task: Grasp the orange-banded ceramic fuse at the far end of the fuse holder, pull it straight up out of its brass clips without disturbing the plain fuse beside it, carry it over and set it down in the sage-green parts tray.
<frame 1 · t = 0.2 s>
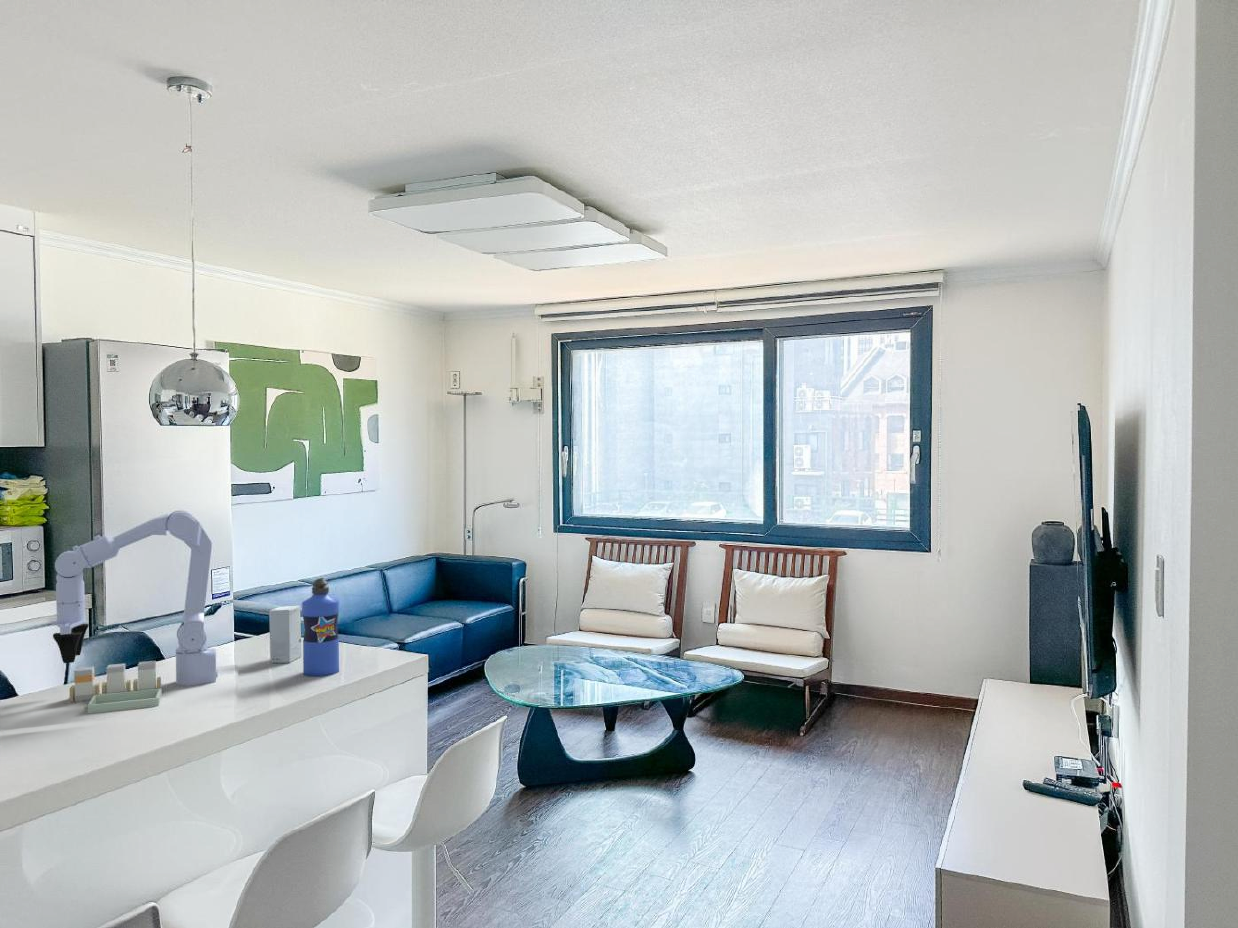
hand: (72, 658, 208), 10 cm above the table, fingers open, 7 cm apart
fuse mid: (116, 694, 209), point 1 cm above the table, touching fuse holder
fuse holder: (116, 699, 209), on the table
fuse near base: (147, 691, 211), point 1 cm above the table, touching fuse holder
tray: (126, 708, 201), on the table
blue bottle: (321, 672, 233), on the table
skincare box: (285, 660, 247), on the table
marked fuse: (84, 698, 206), point 1 cm above the table, touching fuse holder
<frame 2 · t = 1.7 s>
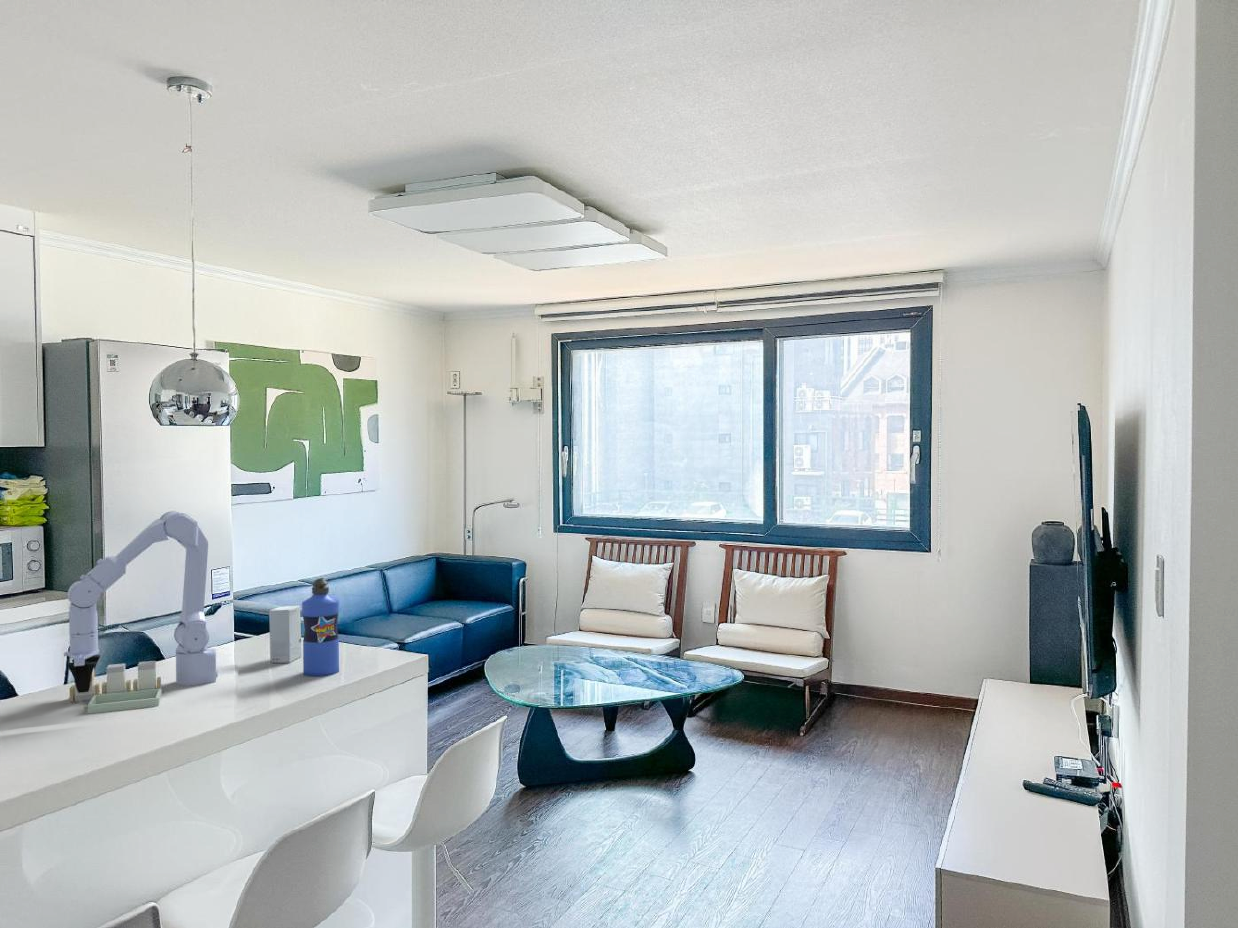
hand: (84, 689, 206), 3 cm above the table, fingers closed on marked fuse, 3 cm apart
marked fuse: (84, 698, 206), point 1 cm above the table, touching fuse holder, gripper
everything else where it was.
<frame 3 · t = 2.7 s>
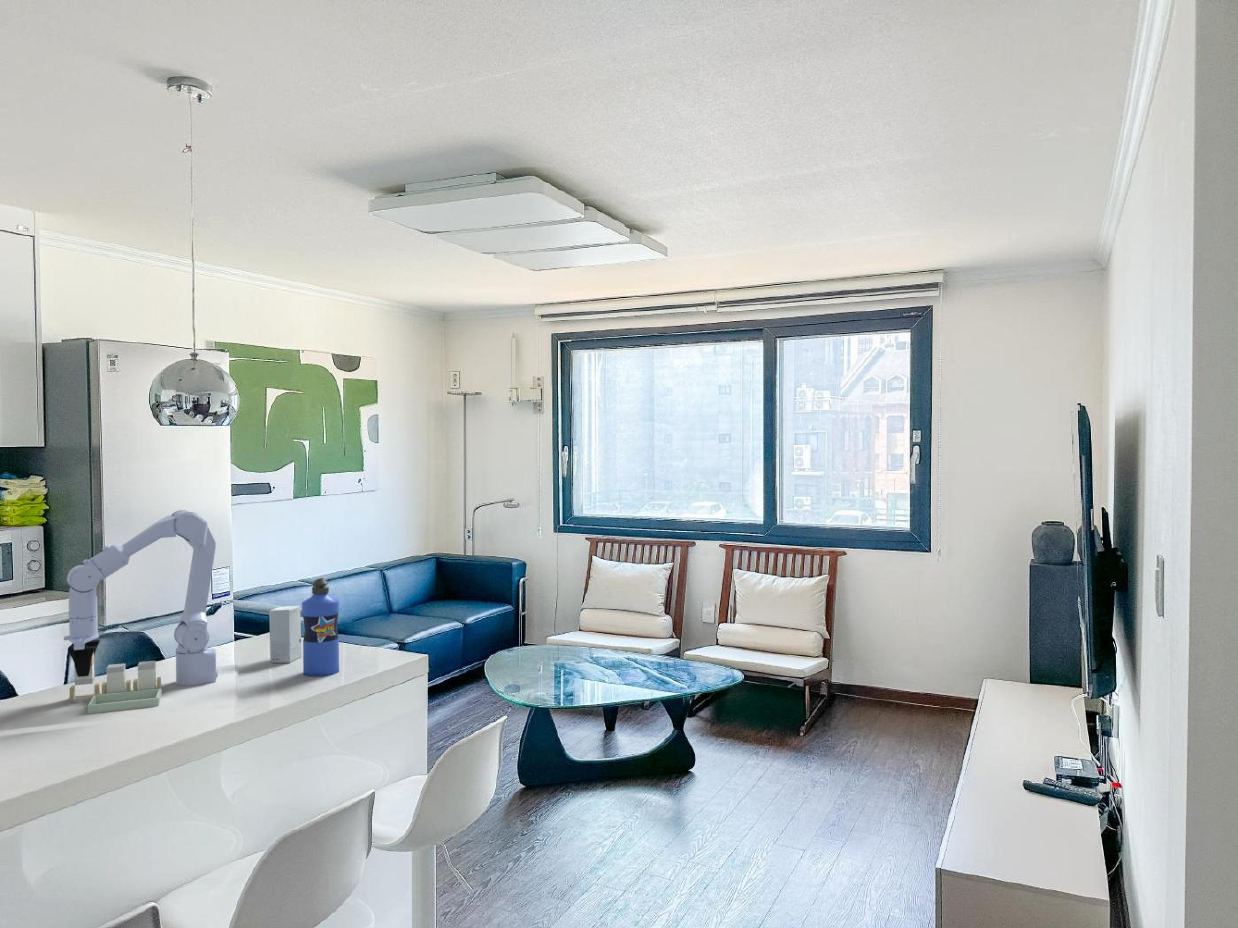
hand: (84, 673, 206), 7 cm above the table, fingers closed on marked fuse, 3 cm apart
marked fuse: (84, 682, 206), point 5 cm above the table, touching gripper
everything else where it was.
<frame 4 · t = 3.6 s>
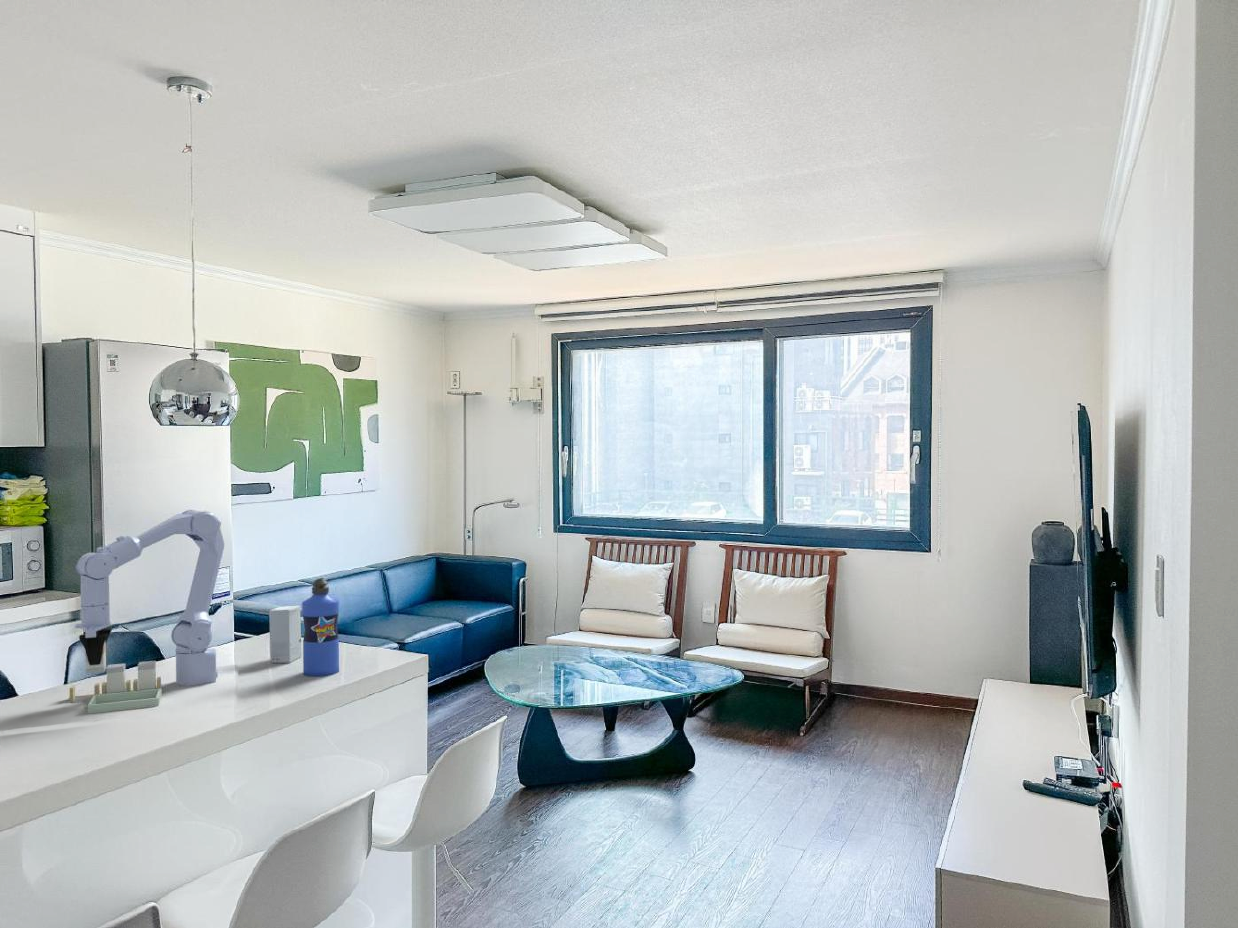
hand: (96, 662, 204), 10 cm above the table, fingers closed on marked fuse, 3 cm apart
marked fuse: (96, 671, 204), point 8 cm above the table, touching gripper
everything else where it was.
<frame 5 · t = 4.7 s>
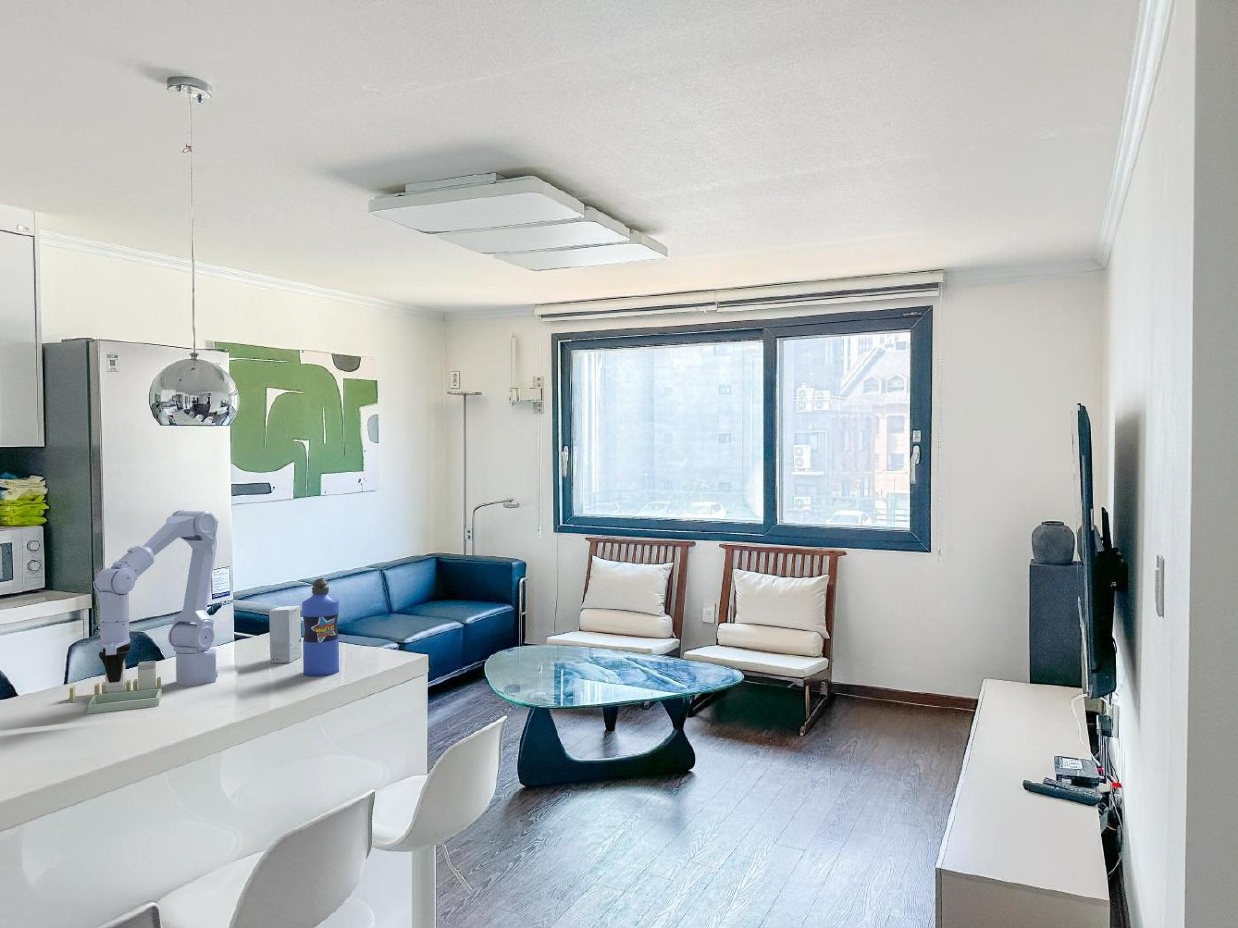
hand: (115, 679, 200), 7 cm above the table, fingers closed on marked fuse, 3 cm apart
marked fuse: (115, 688, 200), point 5 cm above the table, touching gripper
everything else where it was.
when the fingers open (3 cm above the table, at t = 5.6 s): marked fuse stays where it is, resting on tray.
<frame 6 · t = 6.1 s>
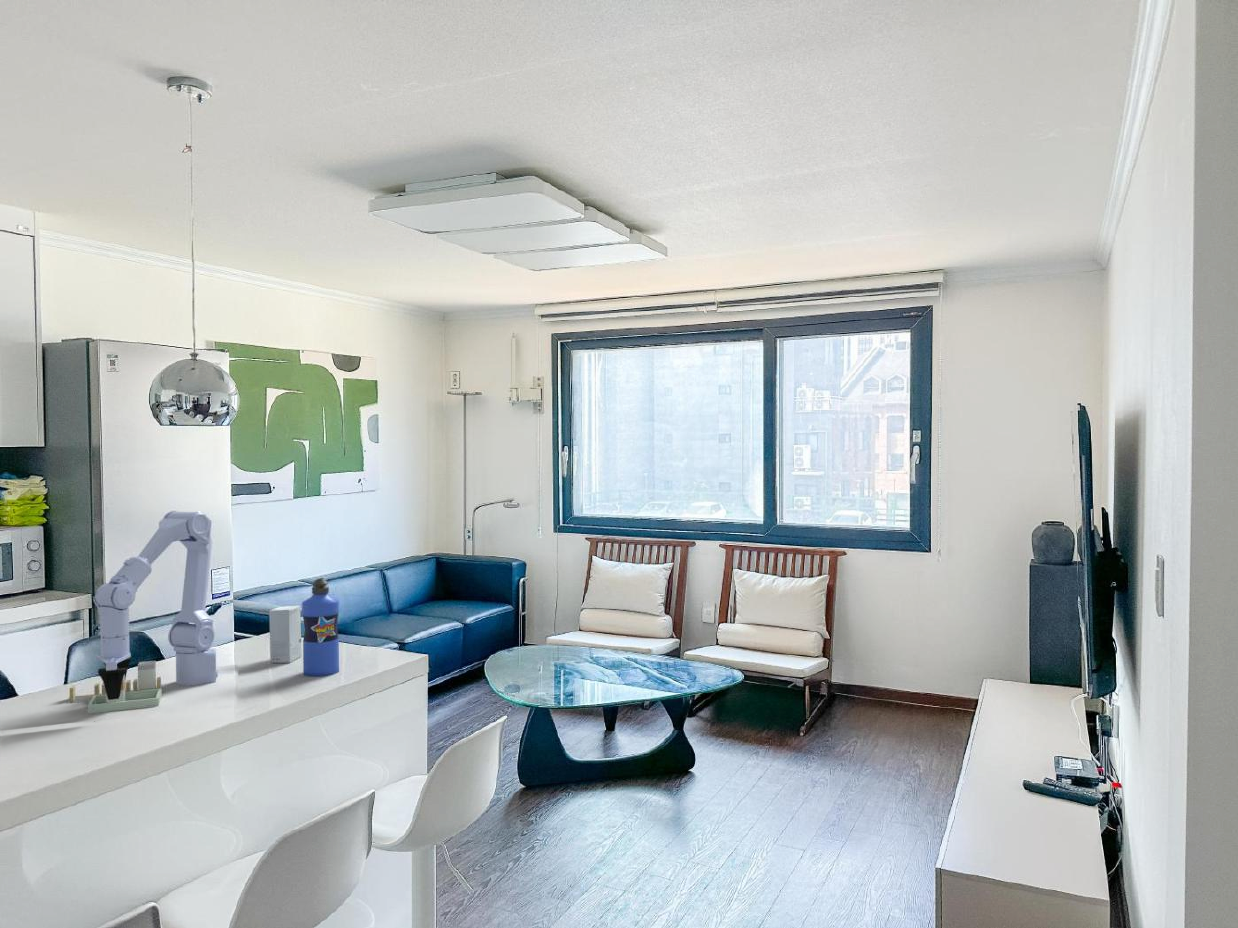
hand: (115, 694, 201), 3 cm above the table, fingers open, 7 cm apart
marked fuse: (115, 707, 201), resting on tray
everything else where it was.
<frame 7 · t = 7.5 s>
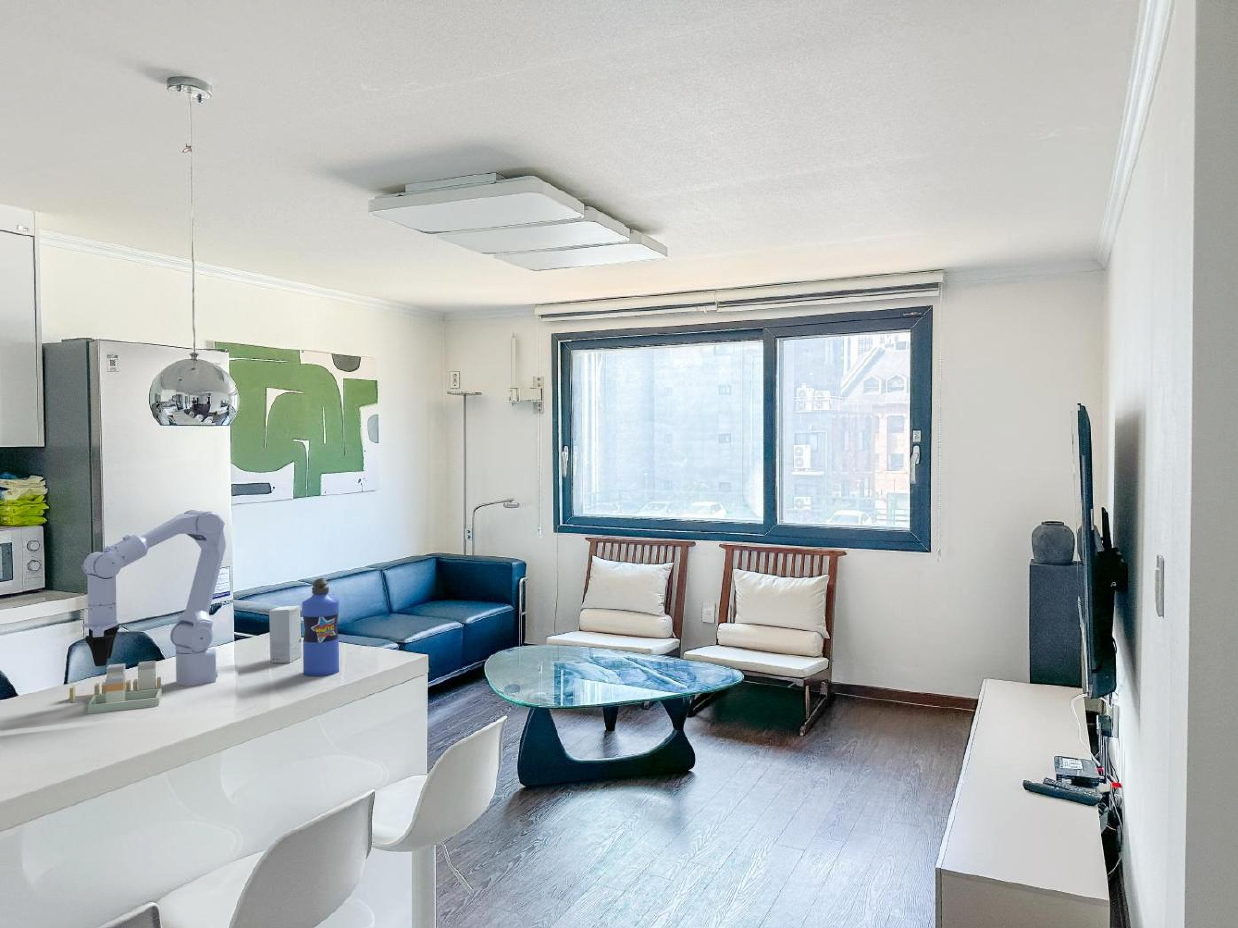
hand: (103, 662, 203), 10 cm above the table, fingers open, 7 cm apart
nothing on the table moved.
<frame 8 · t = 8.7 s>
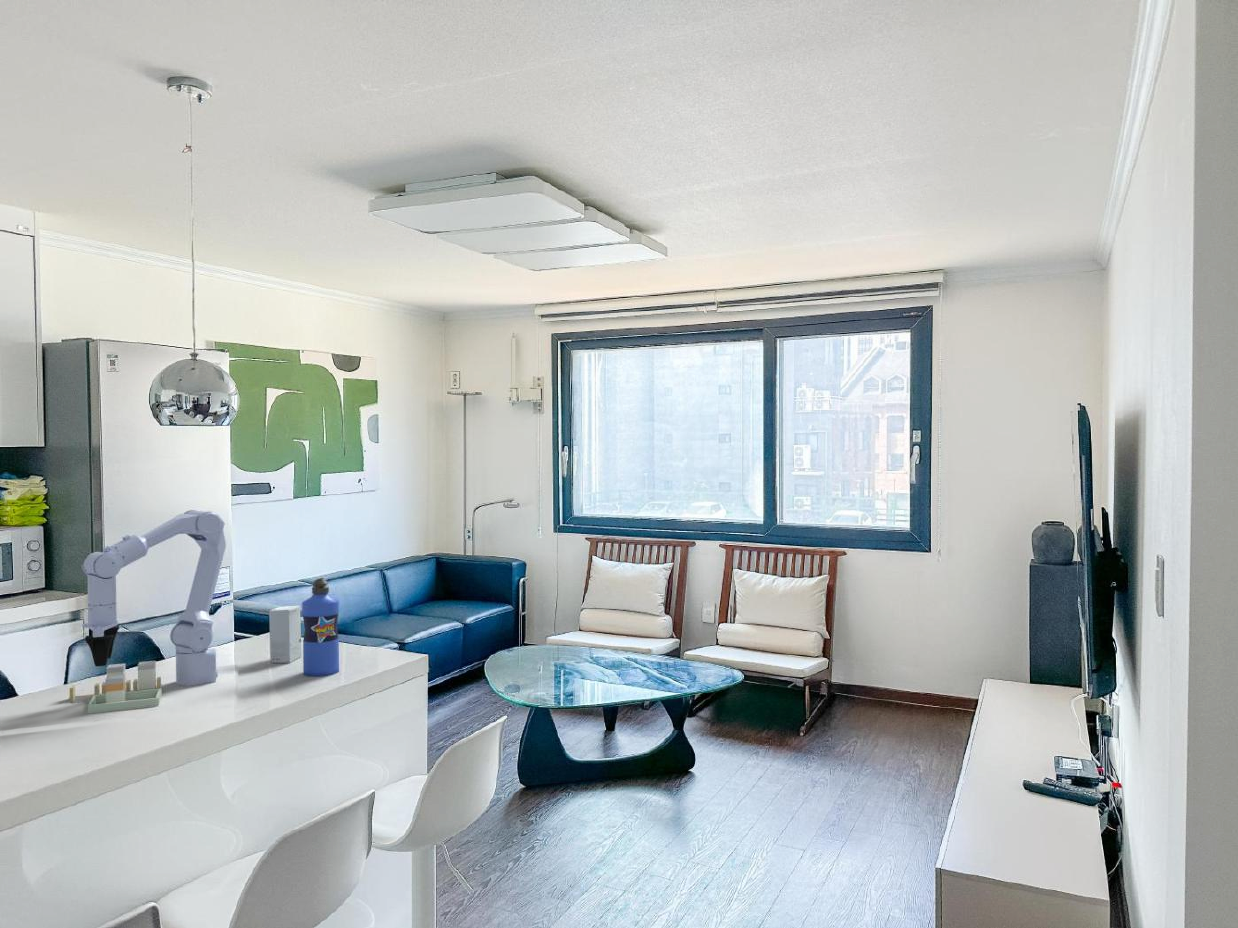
hand: (103, 662, 203), 10 cm above the table, fingers open, 7 cm apart
nothing on the table moved.
at the end: marked fuse inside the target area on the tray (2.1 cm from its centre), point 0.5 cm above the tray's base; the gripper is holding nothing; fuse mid moved 0.1 cm from its start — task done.
